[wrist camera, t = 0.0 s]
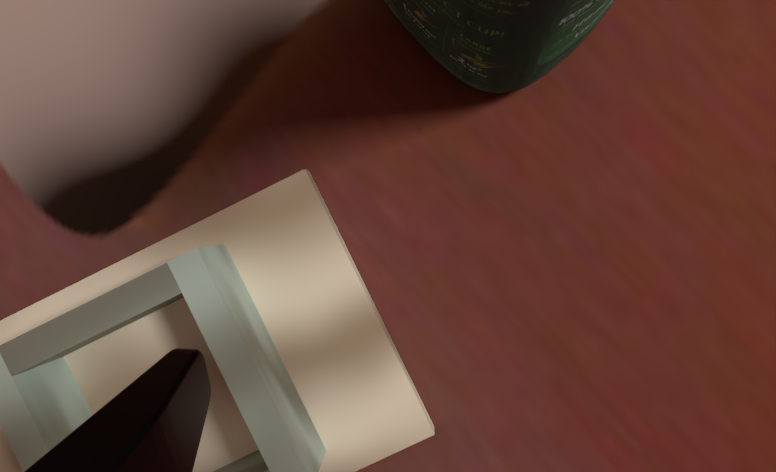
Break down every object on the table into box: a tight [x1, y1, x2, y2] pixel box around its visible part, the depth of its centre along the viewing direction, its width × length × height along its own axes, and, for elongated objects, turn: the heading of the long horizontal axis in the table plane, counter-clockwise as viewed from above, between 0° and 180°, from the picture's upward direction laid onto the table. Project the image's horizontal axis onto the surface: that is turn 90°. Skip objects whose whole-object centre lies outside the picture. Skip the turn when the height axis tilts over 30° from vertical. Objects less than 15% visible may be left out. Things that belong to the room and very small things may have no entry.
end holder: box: [0, 169, 435, 472], centre depth 22 cm, size 12×18×4 cm, turn 116°
